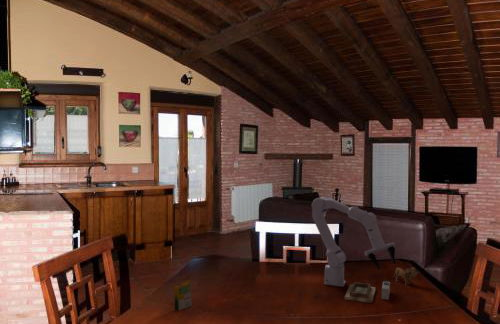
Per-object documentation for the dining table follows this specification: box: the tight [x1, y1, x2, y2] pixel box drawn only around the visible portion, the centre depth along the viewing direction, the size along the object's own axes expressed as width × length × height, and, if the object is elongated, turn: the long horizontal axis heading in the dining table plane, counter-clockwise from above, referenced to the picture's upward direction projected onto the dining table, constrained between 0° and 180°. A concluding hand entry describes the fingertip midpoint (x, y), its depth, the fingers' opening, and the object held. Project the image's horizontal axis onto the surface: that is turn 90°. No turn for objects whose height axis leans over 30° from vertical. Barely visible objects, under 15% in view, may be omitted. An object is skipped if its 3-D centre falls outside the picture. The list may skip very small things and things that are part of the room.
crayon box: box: [173, 279, 192, 311], centre depth 180 cm, size 7×3×12 cm, turn 141°
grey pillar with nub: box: [381, 280, 391, 301], centre depth 196 cm, size 3×10×6 cm, turn 159°
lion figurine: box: [390, 266, 418, 286], centre depth 214 cm, size 15×5×9 cm, turn 34°
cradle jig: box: [344, 281, 377, 304], centre depth 197 cm, size 12×18×3 cm, turn 159°
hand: (386, 266), depth 197 cm, fingers open, 7 cm apart
